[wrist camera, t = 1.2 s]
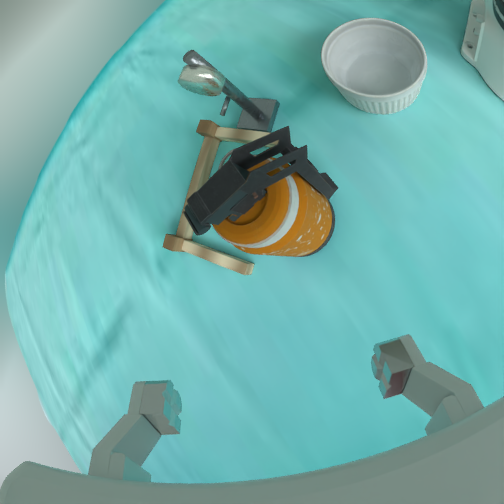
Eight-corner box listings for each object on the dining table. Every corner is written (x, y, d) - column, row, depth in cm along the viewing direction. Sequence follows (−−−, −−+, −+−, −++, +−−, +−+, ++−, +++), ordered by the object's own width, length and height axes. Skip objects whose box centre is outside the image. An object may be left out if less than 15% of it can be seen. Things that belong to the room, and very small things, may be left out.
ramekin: (316, 72, 38) (301, 44, 32) (387, 35, 33) (381, 4, 27) (366, 140, 35) (359, 116, 29) (444, 97, 30) (449, 69, 24)
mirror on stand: (250, 101, 43) (180, 40, 27) (279, 103, 41) (215, 35, 25) (238, 136, 43) (161, 84, 28) (268, 140, 41) (196, 82, 26)
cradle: (290, 138, 40) (280, 127, 36) (250, 276, 42) (236, 277, 38) (214, 128, 45) (200, 119, 42) (179, 248, 47) (162, 247, 44)
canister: (256, 216, 42) (150, 186, 24) (319, 163, 38) (249, 86, 20) (294, 271, 39) (201, 278, 21) (363, 216, 35) (328, 169, 17)
